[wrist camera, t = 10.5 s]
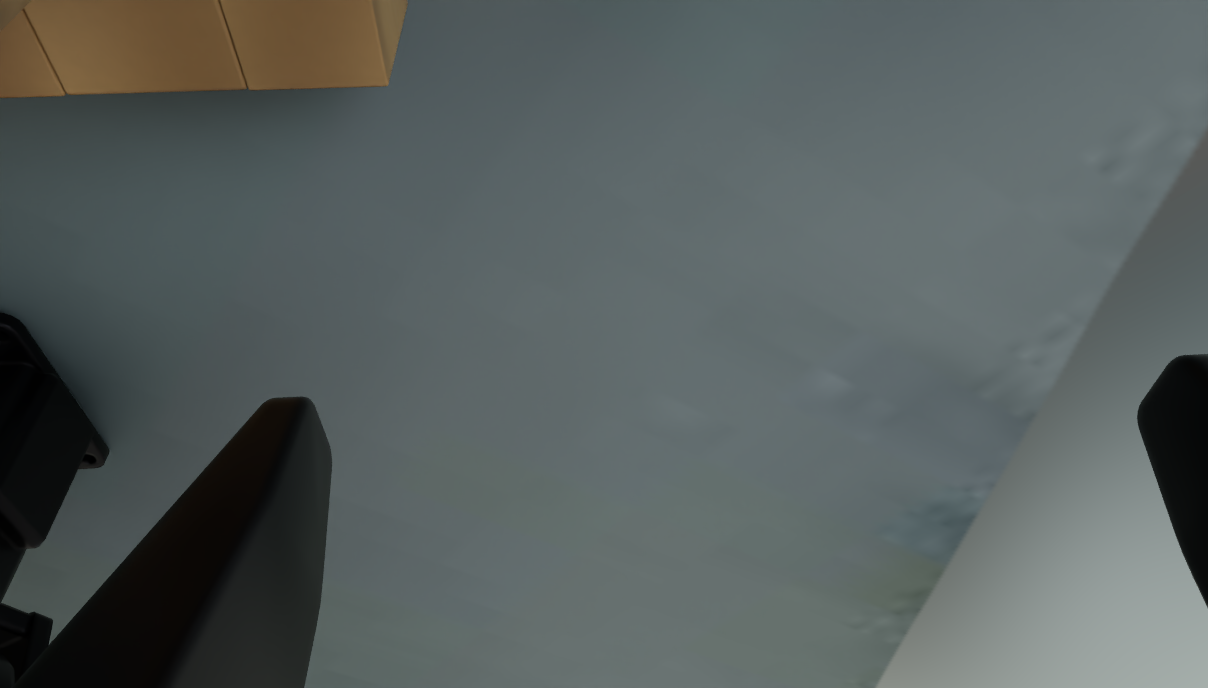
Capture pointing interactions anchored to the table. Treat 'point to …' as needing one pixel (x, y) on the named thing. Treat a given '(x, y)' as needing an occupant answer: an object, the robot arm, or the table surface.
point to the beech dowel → (10, 10)
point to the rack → (197, 45)
